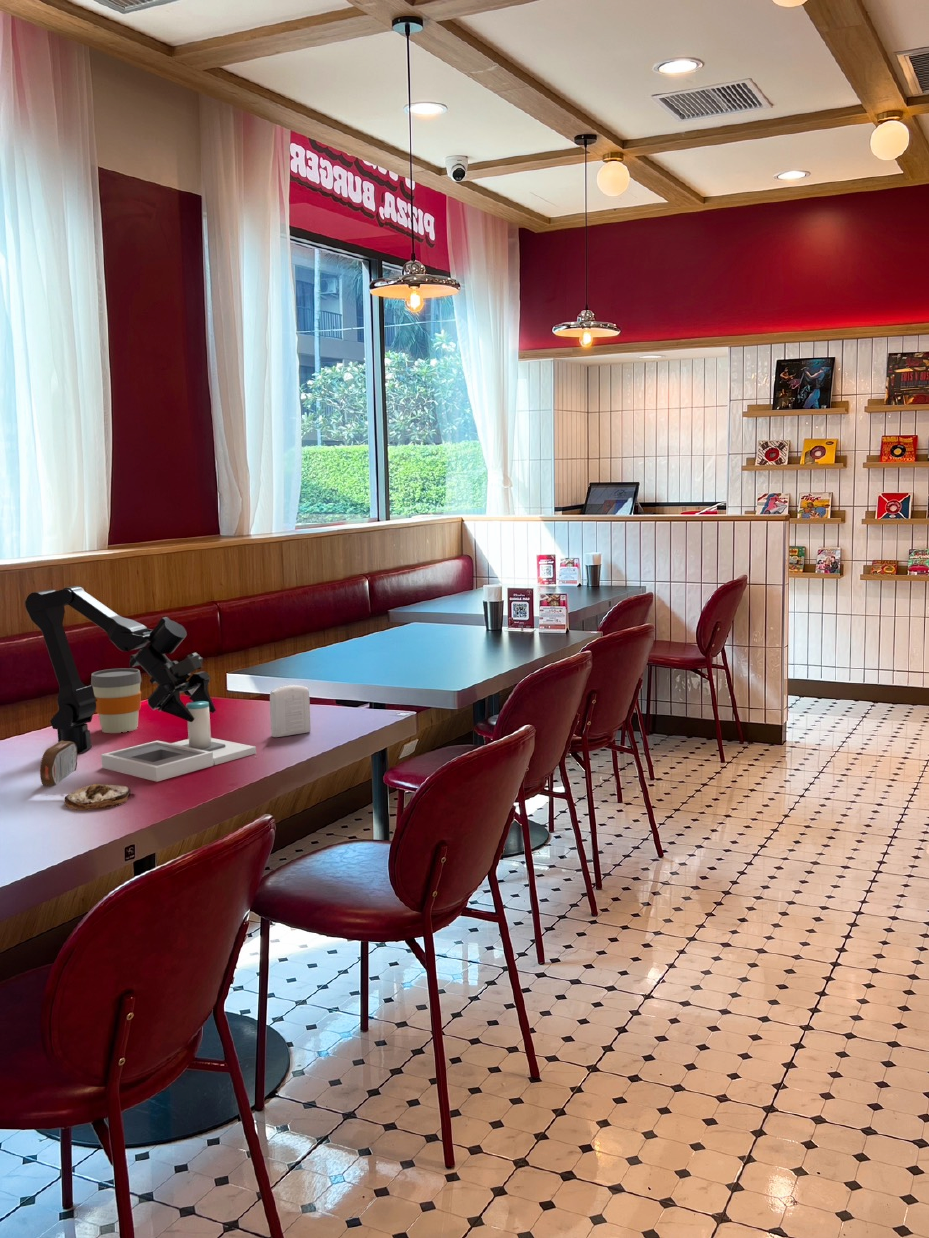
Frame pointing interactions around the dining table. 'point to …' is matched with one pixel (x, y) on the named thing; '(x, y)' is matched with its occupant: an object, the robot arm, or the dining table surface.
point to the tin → (58, 762)
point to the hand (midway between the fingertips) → (203, 716)
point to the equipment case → (172, 758)
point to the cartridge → (199, 725)
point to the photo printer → (290, 710)
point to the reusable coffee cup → (117, 698)
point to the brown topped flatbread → (97, 797)
